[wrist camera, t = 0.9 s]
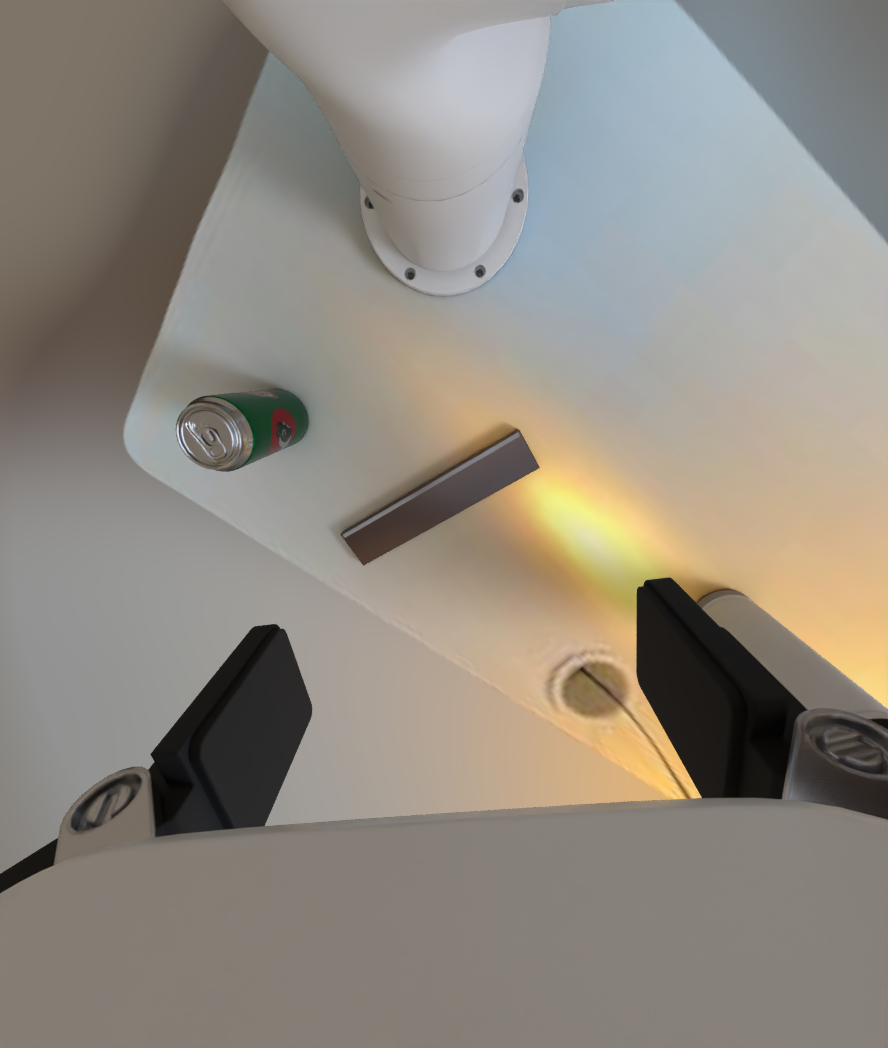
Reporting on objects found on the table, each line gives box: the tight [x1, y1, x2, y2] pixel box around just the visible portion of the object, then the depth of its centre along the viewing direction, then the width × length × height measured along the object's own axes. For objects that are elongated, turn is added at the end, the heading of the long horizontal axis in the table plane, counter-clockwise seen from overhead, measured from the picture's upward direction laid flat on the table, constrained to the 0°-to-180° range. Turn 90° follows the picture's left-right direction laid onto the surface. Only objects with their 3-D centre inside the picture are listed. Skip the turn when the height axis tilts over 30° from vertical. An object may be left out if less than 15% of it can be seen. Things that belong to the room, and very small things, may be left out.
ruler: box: [341, 429, 539, 565], centre depth 40 cm, size 4×20×1 cm, turn 121°
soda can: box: [176, 389, 308, 471], centre depth 32 cm, size 5×5×12 cm
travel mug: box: [697, 590, 888, 729], centre depth 34 cm, size 6×7×20 cm
